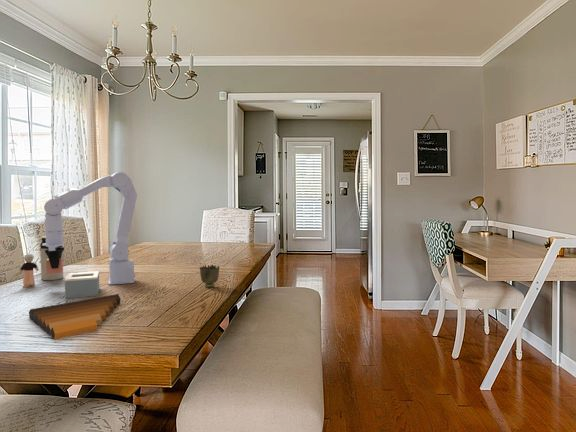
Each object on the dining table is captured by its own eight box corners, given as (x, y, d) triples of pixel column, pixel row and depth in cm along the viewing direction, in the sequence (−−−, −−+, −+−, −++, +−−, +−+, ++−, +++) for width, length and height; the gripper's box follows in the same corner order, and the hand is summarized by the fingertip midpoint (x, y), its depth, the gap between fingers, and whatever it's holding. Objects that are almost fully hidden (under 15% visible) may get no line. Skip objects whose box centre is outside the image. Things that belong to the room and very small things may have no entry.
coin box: (99, 288, 154) (98, 271, 153) (97, 295, 142) (97, 277, 142) (69, 290, 150) (68, 273, 149) (65, 298, 139) (64, 279, 138)
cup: (223, 287, 156) (223, 266, 155) (207, 290, 150) (207, 269, 150) (211, 284, 161) (211, 264, 160) (196, 287, 155) (195, 266, 155)
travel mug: (67, 277, 174) (66, 235, 173) (55, 281, 166) (53, 237, 165) (50, 276, 175) (48, 234, 174) (36, 280, 167) (35, 236, 166)
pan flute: (116, 303, 135) (29, 319, 117) (115, 293, 135) (28, 308, 117) (151, 319, 117) (55, 342, 100) (151, 308, 117) (54, 328, 99)
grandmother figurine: (25, 288, 153) (24, 255, 152) (17, 288, 154) (16, 254, 153) (42, 284, 160) (41, 252, 160) (33, 283, 161) (32, 251, 160)
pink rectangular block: (63, 271, 154) (62, 258, 154) (62, 272, 152) (61, 259, 151) (47, 272, 152) (47, 259, 152) (46, 273, 150) (46, 260, 150)
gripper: (45, 230, 156) (46, 265, 157) (38, 233, 143) (39, 271, 144) (65, 229, 159) (67, 263, 160) (60, 232, 146) (62, 270, 146)
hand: (55, 267), depth 152 cm, fingers closed on pink rectangular block, 3 cm apart
